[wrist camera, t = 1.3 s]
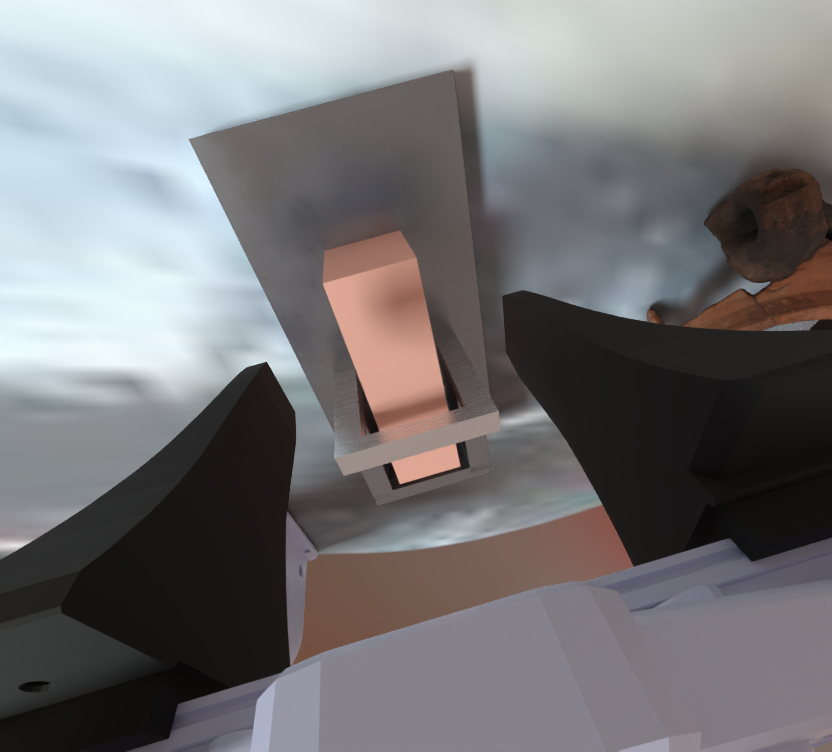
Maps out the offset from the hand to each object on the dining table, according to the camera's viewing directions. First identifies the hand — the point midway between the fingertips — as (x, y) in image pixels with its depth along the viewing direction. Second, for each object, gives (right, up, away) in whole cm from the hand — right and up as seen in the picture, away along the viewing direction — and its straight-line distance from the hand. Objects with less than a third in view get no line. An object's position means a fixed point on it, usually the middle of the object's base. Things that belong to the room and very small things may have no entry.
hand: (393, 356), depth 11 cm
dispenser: (-1, +3, +9) cm, 9 cm away
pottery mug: (+18, +7, +11) cm, 22 cm away
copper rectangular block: (-1, +1, +9) cm, 9 cm away
